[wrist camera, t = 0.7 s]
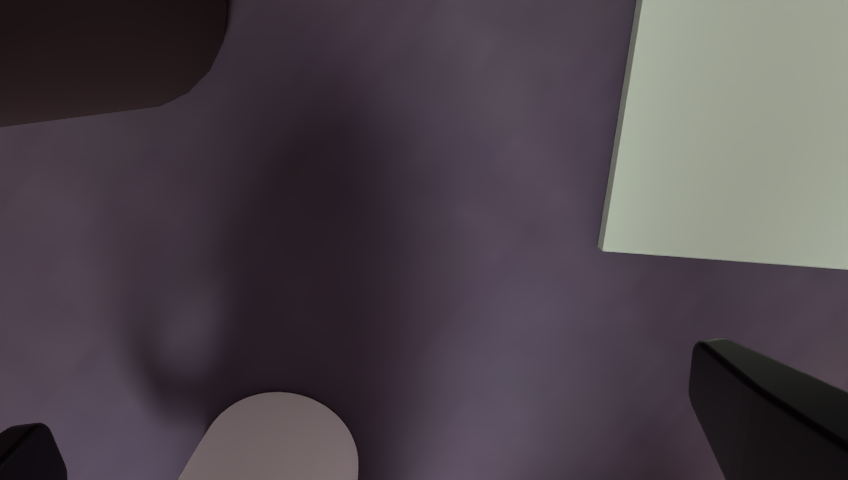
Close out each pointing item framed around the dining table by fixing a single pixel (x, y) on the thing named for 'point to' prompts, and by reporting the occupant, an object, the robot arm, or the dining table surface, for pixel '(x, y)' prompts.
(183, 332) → the dining table surface
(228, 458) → the mug
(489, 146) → the dining table surface
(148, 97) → the bottle
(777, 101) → the mat
